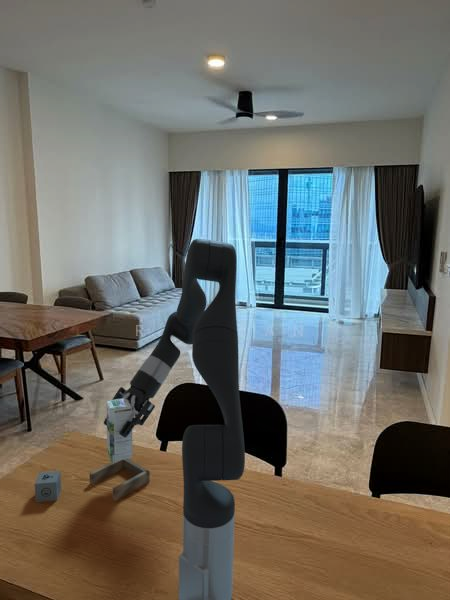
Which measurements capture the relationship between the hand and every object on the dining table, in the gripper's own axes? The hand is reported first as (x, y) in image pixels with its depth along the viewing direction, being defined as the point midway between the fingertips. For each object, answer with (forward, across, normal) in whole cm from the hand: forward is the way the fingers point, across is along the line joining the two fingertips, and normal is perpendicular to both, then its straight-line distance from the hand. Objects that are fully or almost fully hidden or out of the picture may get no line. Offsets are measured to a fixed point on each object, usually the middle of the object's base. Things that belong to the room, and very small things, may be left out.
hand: (114, 430), depth 110 cm
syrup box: (+4, 0, +6) cm, 8 cm away
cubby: (+10, 0, +12) cm, 15 cm away
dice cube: (+21, -8, +1) cm, 23 cm away
